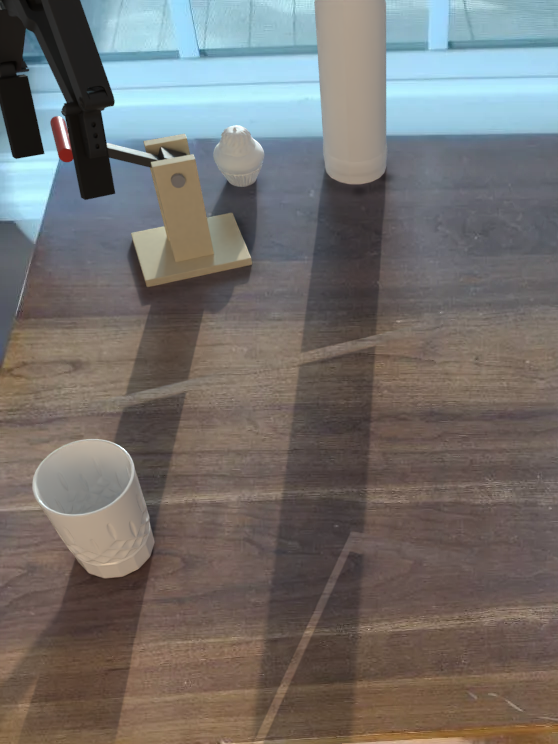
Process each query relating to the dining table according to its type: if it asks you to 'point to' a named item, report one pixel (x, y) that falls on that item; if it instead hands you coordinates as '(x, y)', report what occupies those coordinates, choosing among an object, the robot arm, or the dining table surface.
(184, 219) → the bracket
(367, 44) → the bottle
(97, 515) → the white cup
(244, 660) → the dining table surface
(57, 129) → the lever
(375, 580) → the dining table surface
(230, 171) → the muffin
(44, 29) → the robot arm
